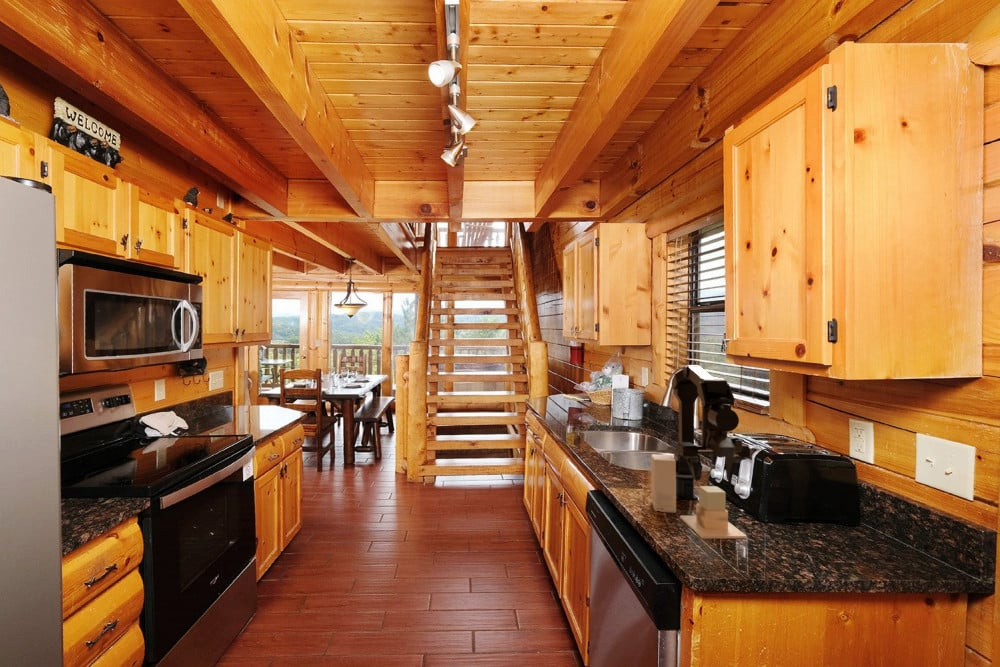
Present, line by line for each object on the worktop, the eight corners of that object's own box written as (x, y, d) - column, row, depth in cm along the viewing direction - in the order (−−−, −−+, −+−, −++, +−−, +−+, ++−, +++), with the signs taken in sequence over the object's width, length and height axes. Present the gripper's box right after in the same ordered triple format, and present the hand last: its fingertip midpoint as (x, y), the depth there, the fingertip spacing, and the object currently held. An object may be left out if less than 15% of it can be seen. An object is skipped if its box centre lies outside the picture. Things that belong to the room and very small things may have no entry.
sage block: (698, 504, 135) (699, 486, 135) (716, 504, 135) (716, 486, 135) (707, 510, 130) (707, 492, 130) (725, 510, 130) (725, 492, 130)
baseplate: (679, 517, 139) (679, 515, 139) (720, 517, 140) (720, 515, 140) (701, 538, 125) (701, 536, 125) (746, 538, 126) (746, 536, 126)
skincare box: (676, 513, 142) (677, 461, 142) (653, 511, 144) (653, 459, 144) (672, 503, 151) (672, 454, 150) (650, 502, 152) (650, 453, 152)
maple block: (696, 521, 135) (696, 503, 135) (717, 521, 135) (717, 503, 135) (705, 529, 129) (706, 511, 129) (727, 529, 129) (728, 511, 129)
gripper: (692, 429, 124) (691, 490, 124) (763, 430, 125) (762, 490, 125) (675, 421, 135) (674, 477, 135) (740, 422, 136) (739, 477, 136)
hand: (712, 480), depth 132 cm, fingers open, 9 cm apart
